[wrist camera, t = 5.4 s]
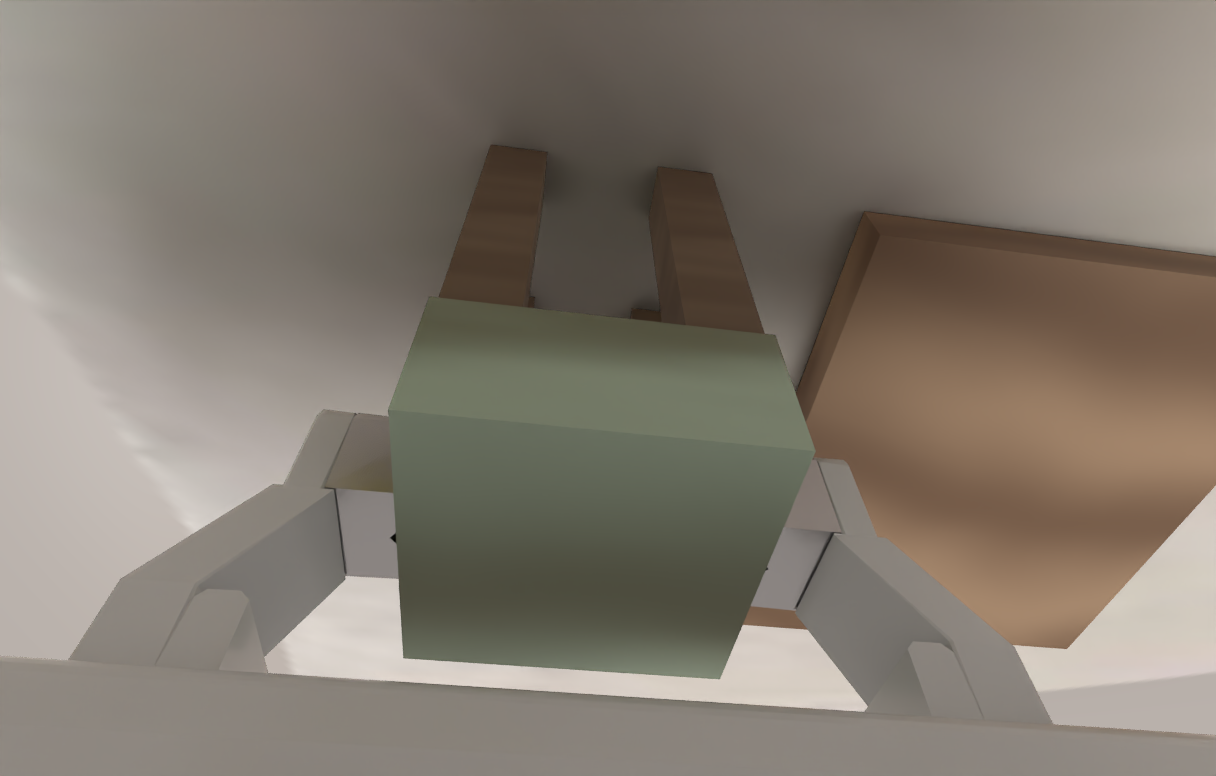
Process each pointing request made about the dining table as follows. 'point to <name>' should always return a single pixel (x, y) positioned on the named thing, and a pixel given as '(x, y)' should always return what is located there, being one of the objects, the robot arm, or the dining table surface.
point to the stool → (590, 449)
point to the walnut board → (1017, 411)
